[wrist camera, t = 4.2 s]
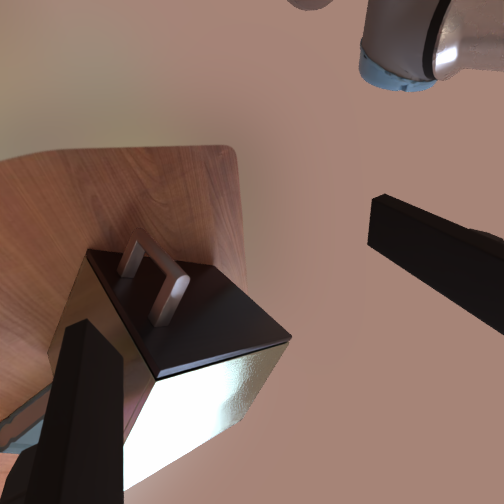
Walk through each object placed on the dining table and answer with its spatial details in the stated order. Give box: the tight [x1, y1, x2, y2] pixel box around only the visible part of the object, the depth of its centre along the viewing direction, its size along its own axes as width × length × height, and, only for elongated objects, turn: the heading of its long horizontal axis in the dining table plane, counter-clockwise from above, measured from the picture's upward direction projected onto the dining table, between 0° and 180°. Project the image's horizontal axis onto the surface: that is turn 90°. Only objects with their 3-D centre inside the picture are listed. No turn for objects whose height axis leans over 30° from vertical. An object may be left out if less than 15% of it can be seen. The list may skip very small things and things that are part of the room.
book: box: [0, 383, 52, 454], centre depth 51 cm, size 23×16×5 cm
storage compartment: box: [47, 256, 289, 491], centre depth 42 cm, size 18×26×24 cm
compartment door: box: [86, 228, 292, 378], centre depth 40 cm, size 8×26×23 cm, turn 52°
